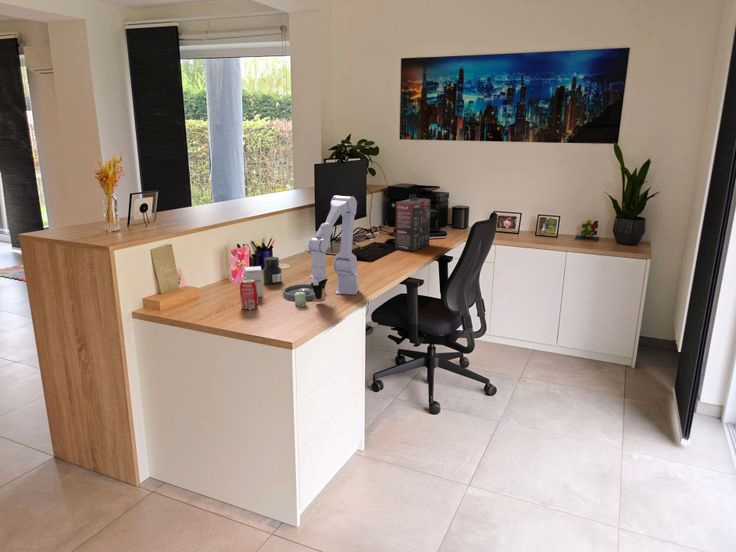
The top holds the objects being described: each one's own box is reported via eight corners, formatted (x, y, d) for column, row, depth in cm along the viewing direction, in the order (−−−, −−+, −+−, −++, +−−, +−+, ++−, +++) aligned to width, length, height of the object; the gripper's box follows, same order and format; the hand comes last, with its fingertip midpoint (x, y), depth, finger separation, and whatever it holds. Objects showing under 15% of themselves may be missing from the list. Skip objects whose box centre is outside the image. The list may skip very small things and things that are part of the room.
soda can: (251, 304, 236) (249, 277, 233) (261, 307, 232) (260, 280, 229) (237, 308, 231) (235, 280, 228) (248, 311, 227) (246, 283, 224)
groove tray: (328, 289, 258) (328, 284, 258) (320, 301, 240) (320, 296, 240) (289, 287, 261) (289, 283, 260) (278, 299, 243) (277, 295, 242)
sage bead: (306, 303, 238) (306, 292, 236) (304, 306, 234) (303, 295, 232) (296, 303, 238) (296, 291, 237) (294, 306, 234) (293, 294, 233)
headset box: (413, 242, 362) (414, 192, 353) (430, 245, 356) (431, 193, 347) (394, 249, 342) (395, 195, 333) (412, 252, 335) (413, 197, 327)
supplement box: (246, 298, 245) (244, 270, 242) (245, 293, 252) (243, 266, 249) (263, 296, 247) (261, 269, 244) (261, 292, 254) (260, 265, 250)
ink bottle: (277, 285, 265) (276, 261, 262) (260, 284, 266) (259, 260, 263) (284, 280, 274) (283, 256, 271) (268, 279, 276) (266, 255, 273)
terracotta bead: (325, 298, 238) (325, 287, 237) (323, 302, 234) (323, 290, 233) (315, 298, 239) (315, 287, 238) (313, 301, 235) (313, 290, 233)
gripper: (313, 261, 240) (314, 291, 244) (305, 270, 226) (306, 301, 230) (329, 262, 239) (330, 292, 243) (322, 270, 225) (323, 302, 229)
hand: (319, 297), depth 236 cm, fingers closed on terracotta bead, 4 cm apart
